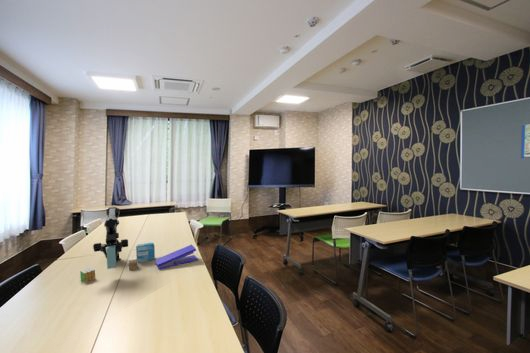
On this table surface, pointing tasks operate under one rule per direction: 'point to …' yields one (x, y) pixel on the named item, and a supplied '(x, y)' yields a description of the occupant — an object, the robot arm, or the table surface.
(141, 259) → the data package
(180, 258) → the stapler
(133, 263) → the walnut cube
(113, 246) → the teal block
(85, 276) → the puzzle toy
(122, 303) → the table surface
